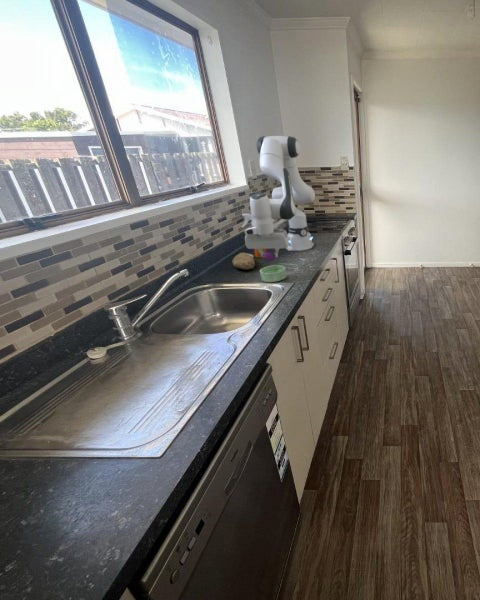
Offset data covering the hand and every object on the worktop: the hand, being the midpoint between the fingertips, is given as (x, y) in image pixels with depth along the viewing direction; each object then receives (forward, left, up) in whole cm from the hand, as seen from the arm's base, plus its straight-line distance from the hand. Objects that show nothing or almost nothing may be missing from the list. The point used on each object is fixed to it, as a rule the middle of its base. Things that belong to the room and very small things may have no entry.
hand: (270, 257), depth 163 cm
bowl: (0, 0, -12) cm, 12 cm away
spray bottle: (-43, +10, -12) cm, 46 cm away
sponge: (-29, -3, -12) cm, 31 cm away
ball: (0, 0, +1) cm, 1 cm away
